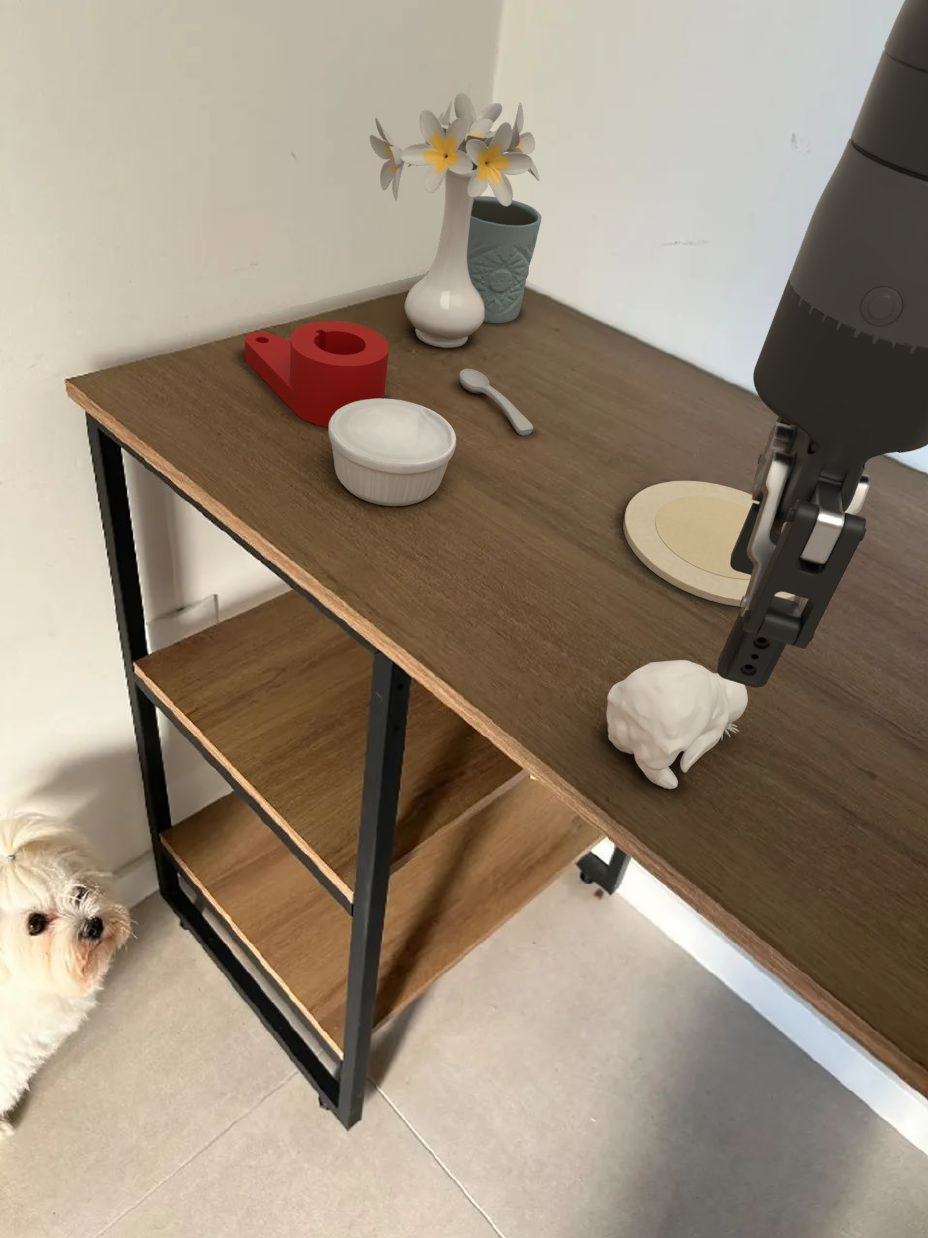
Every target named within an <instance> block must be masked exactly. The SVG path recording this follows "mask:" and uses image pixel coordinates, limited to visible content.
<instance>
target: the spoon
mask: <svg viewBox="0 0 928 1238" xmlns="http://www.w3.org/2000/svg"><path fill="white" fill-rule="evenodd" d="M458 380H459V383H460V385H461V386H462V387H463V388H464V389H465V390H467V392H470V393H472V394H485V395H487V396H488V397H489V398H490V399H492V400H493V401H494V402H495V403H496V405H497V406H498V407H499V408H500V409H501V410H502V412H503V413H504V415H505V416H506V417H507V419H508V420H509V422H510V423H511V425H512V428H513V429H514V430H515V432H516V433H517V434H518V435H519V436H528V435H530V434H531V433H532V432H533V430H534V425H533V424H532V423H531V422H530V421H529V419H527V417H525V415H523V413H522V412H520V411H519V409H518V408H517V407H516V406H515V405H514V404H513V403H512V402H511V401H510V400H509V399H508V398H507V397H506V396H504V395H503V394H502V393H500V391H498V390H497V389H495V388H494V387H493V386H492V385H490V380H489V379H488V377H487V375H485V374H483V373H482V372H480V371H478V370H476V369H473V368H464V369H462V370H460V372H459V374H458Z"/></svg>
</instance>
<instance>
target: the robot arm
mask: <svg viewBox="0 0 928 1238" xmlns="http://www.w3.org/2000/svg"><path fill="white" fill-rule="evenodd" d="M792 266H793V267H792V269H791V270H790V274H789V276H788V279H787V281H786V284H785V286H784V290H783V291H782V295H781V297H780V299H779V303H778V304H777V308H776V310H775V313H774V315H773V318H772V320H771V323H770V326H769V329H768V331H767V334H766V337H765V340H764V342H763V345H762V348H761V350H760V353H759V354H758V355H759V356H758V358H757V361H756V364H755V366H754V370H753V374H752V375H753V376H752V378H753V380H752V381H753V385H754V388H755V391H756V393H757V395H758V397H759V398H760V399H761V401H762V402H763V403H764V405H765V406H766V407H767V408H768V409H769V410H770V411H771V412H772V413H773V414H775V416H777V419H776V421H775V423H774V424H773V426H772V428H771V429H770V431H769V435H768V439H767V442H766V445H765V448H764V450H763V452H762V453H761V454H759V457H758V459H757V467H756V471H755V474H754V479H753V484H752V488H751V490H750V491H751V493H752V494H751V495H752V500H754V501H758V502H759V504H756V503H752V506H751V508H750V511H749V513H748V515H747V518H746V520H745V522H744V525H743V527H742V530H741V532H740V534H739V537H738V539H737V542H736V544H735V546H734V549H733V551H732V554H731V560H730V565H731V567H732V569H734V570H735V571H738V572H742V573H745V574H749V575H751V578H750V581H749V584H748V588H747V591H746V594H745V596H744V595H743V597H742V599H741V602H740V607H739V608H740V610H739V611H738V615H737V616H736V619H735V621H734V623H733V626H732V627H731V630H730V632H729V635H728V636H727V639H726V641H725V644H724V646H723V647H722V650H721V652H720V655H719V657H718V660H717V670H716V673H718V674H719V676H720V677H722V678H724V679H727V680H730V681H733V682H737V683H740V684H743V685H745V686H747V687H750V688H753V689H759V688H762V687H765V686H766V685H767V683H768V681H769V679H770V677H771V676H772V673H773V671H774V670H775V667H776V666H777V664H778V661H779V660H780V657H781V655H782V653H783V652H784V650H785V648H786V646H787V645H790V646H792V647H796V648H798V649H799V648H800V649H802V650H805V649H806V648H808V646H809V644H810V642H812V641H813V639H814V637H815V632H816V629H817V628H818V626H819V624H820V622H821V620H822V618H823V616H824V614H825V612H826V610H827V608H828V607H829V604H830V602H831V600H832V599H833V596H834V594H835V592H836V590H837V589H838V587H839V584H840V582H841V580H842V579H843V577H844V575H845V572H846V571H847V569H848V566H849V565H850V562H851V561H852V558H853V556H854V554H855V552H856V551H857V549H858V546H859V544H860V543H861V542H862V541H863V540H864V538H865V536H866V532H867V528H866V524H867V519H866V517H865V516H860V515H858V514H859V512H861V510H862V509H863V507H864V504H865V501H866V498H867V496H868V492H869V489H870V486H871V481H872V477H871V475H869V474H865V473H864V471H865V467H866V463H867V462H868V461H869V460H870V459H873V458H876V457H877V456H882V455H887V454H893V453H899V454H903V453H910V452H913V451H916V450H921V449H923V448H924V447H926V446H928V0H903V3H902V5H901V7H900V10H899V12H898V14H897V16H896V18H895V20H894V22H893V25H892V27H891V30H890V32H889V35H888V36H887V39H886V41H885V44H884V49H883V50H882V52H881V55H880V57H879V60H878V62H877V65H876V68H875V70H874V73H873V75H872V78H871V80H870V83H869V86H868V89H867V91H866V94H865V97H864V99H863V101H862V104H861V106H860V110H859V111H858V115H857V117H856V120H855V123H854V125H853V127H852V130H851V134H850V138H849V139H848V141H847V143H846V145H845V148H844V150H843V152H842V154H841V156H840V159H839V160H838V162H837V165H836V166H835V169H834V170H833V172H832V174H831V176H830V177H829V179H828V181H827V183H826V185H825V187H824V189H823V191H822V192H821V195H820V197H819V199H818V201H817V203H816V205H815V208H814V210H813V212H812V215H811V218H810V219H809V223H808V225H807V228H806V231H805V234H804V236H803V239H802V242H801V245H800V247H799V250H798V252H797V255H796V257H795V261H794V263H793V265H792ZM856 514H857V515H856ZM778 592H786V593H789V594H793V595H795V598H794V601H791V600H788V599H784V598H781V597H777V596H774V595H775V594H776V593H778Z"/></svg>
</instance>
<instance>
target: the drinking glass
mask: <svg viewBox="0 0 928 1238" xmlns="http://www.w3.org/2000/svg"><path fill="white" fill-rule="evenodd" d="M541 224H542V215H541V213H540V212H539V211H538V210H537V209H535V208H534V207H533V206H531V205H530V204H526V203H524V202H521V201H517V200H515V199H512V203H511V204H510V205H509V206H503V205H502V204H501V203H500V202H499V201H498V200H497V198H496V197H495V196H490V195H480V196H478V197H475V198H474V202H473V206H472V212H471V219H470V228H469V238H468V250H467V264H468V270H469V275H470V278H471V282H472V284H473V285H474V287H475V288H476V289H477V291H478V292H479V294H480V296H481V298H482V300H483V302H484V306H485V318H484V322H483V323H487V324H504V323H505V324H506V323H510V322H512V321H514V320H515V319H517V318H518V316H519V315H520V313H521V308H522V304H523V300H524V294H525V286H526V283H527V279H528V276H529V273H530V265H531V262H532V259H533V255H534V252H535V248H536V245H537V239H538V235H539V230H540V228H541Z"/></svg>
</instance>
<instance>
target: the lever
mask: <svg viewBox="0 0 928 1238" xmlns="http://www.w3.org/2000/svg"><path fill="white" fill-rule="evenodd" d="M389 347H390V346H389V343H388V341H387V340H386V338H385V337H384V336H383V335H382V334H380V333H379V332H377V331H376V330H374V329H371V328H369V327H366V326H364V325H360V324H358V323H353V322H347V321H341V320H340V321H338V320H323V321H313V322H310V323H306V324H303V325H302V326H299V327H298V328H296V329H295V330H293V332H292V333H291V335H290V339H287V338H285V337H282V336H279V335H276V334H275V333H271V332H268V331H267V332H266V331H253V332H250V333H248V334H246V335H245V337H244V359H245V362H246V363H247V364H248V365H249V366H250V367H251V368H252V370H254V371H255V373H257V375H259V377H260V378H261V379H262V380H263V381H264V382H265V383H266V384H267V385H268V386H269V387H270V388H271V390H272V391H273V392H274V393H275V394H277V396H278V397H279V398H280V399H281V400H282V401H283V402H284V403H285V405H287V406H288V408H289V409H290V410H291V411H292V412H293V413H294V414H295V415H296V416H297V417H299V418H300V419H302V420H304V421H306V422H308V423H310V424H313V425H315V426H319V427H324V428H328V429H329V422H330V419H331V417H332V416H333V414H334V413H335V412H336V411H337V410H338V409H340V408H342V407H343V406H345V405H347V404H350V403H353V402H356V401H361V400H367V399H379V398H381V399H385V394H386V382H387V373H388V363H389V350H390V348H389Z"/></svg>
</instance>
